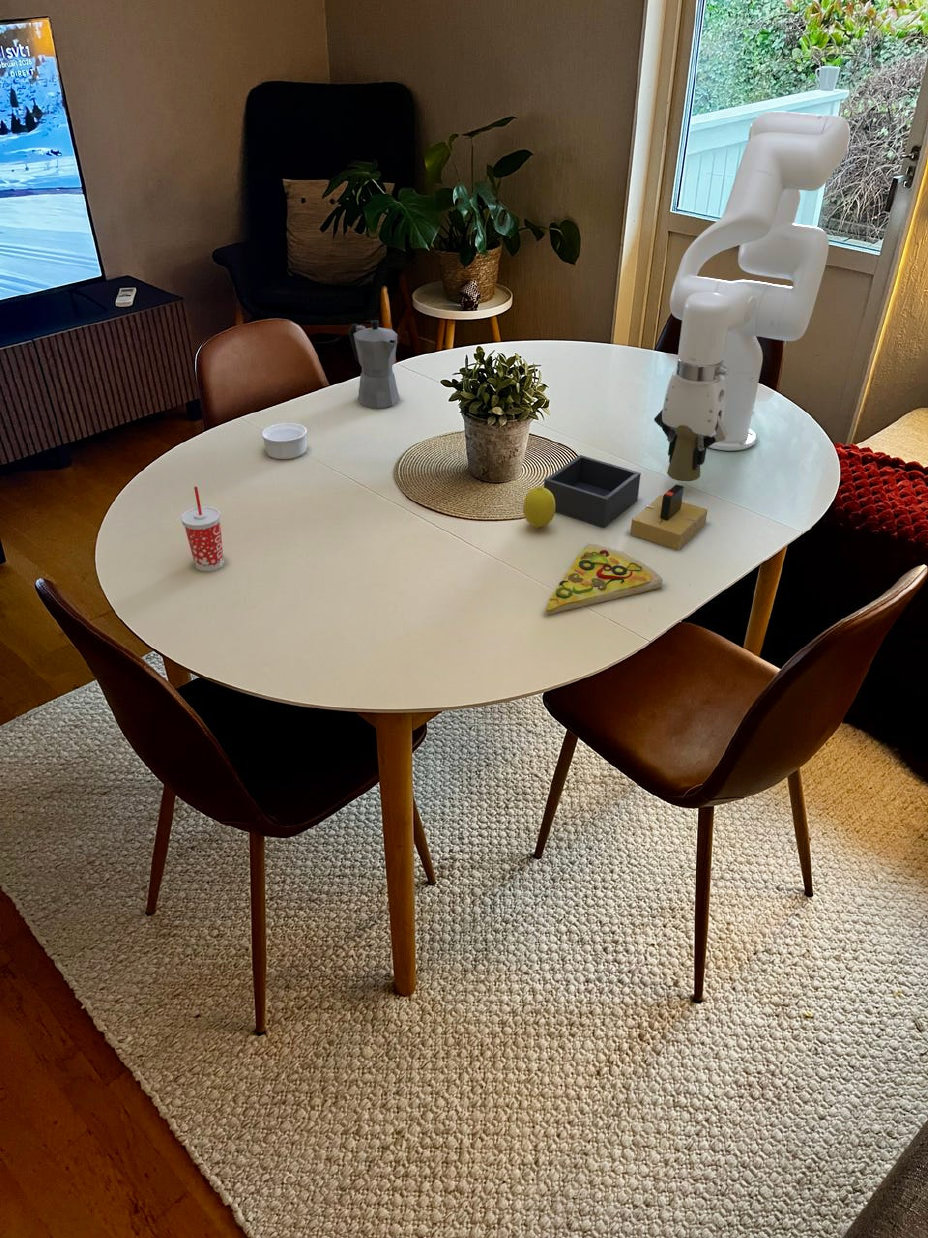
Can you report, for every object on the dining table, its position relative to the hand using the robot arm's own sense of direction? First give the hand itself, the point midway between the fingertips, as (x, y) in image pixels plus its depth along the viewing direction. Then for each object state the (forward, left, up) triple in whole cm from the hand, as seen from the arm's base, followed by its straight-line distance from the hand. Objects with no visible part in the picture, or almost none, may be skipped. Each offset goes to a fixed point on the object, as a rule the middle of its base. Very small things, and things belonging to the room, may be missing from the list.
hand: (685, 462), depth 175 cm
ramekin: (+32, -71, -6) cm, 78 cm away
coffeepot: (+1, -74, -6) cm, 74 cm away
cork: (0, 0, -2) cm, 2 cm away
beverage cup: (+70, -51, -6) cm, 87 cm away
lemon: (+28, -14, -6) cm, 32 cm away
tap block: (+15, +5, -6) cm, 17 cm away
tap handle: (+15, +5, -3) cm, 16 cm away
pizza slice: (+40, +3, -6) cm, 40 cm away
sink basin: (+15, -11, -6) cm, 19 cm away
